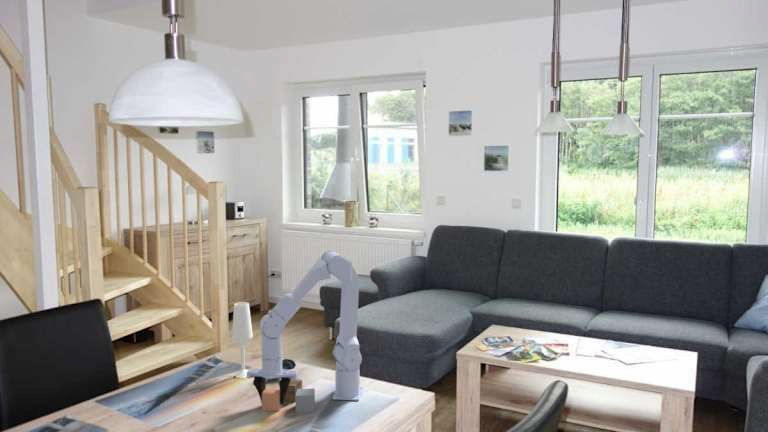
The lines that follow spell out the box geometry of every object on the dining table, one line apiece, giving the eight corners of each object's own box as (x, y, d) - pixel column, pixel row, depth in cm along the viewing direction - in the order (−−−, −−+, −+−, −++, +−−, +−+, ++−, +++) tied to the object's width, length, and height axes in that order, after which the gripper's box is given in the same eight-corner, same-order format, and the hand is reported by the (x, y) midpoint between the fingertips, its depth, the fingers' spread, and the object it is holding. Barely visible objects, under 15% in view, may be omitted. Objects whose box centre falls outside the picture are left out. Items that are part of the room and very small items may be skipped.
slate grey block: (297, 405, 173) (297, 388, 172) (314, 405, 173) (314, 388, 172) (295, 412, 168) (295, 395, 167) (313, 412, 168) (313, 395, 167)
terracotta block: (267, 403, 174) (266, 386, 173) (283, 403, 173) (283, 387, 173) (262, 410, 169) (261, 393, 169) (279, 411, 169) (278, 394, 168)
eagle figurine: (278, 383, 186) (300, 370, 193) (267, 363, 188) (289, 351, 194) (268, 389, 192) (289, 376, 198) (258, 370, 193) (279, 358, 199)
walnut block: (287, 393, 181) (286, 378, 180) (302, 395, 180) (302, 379, 179) (279, 400, 176) (279, 384, 176) (295, 402, 175) (295, 386, 174)
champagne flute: (229, 374, 196) (227, 303, 194) (247, 369, 201) (245, 300, 198) (239, 380, 192) (237, 307, 189) (257, 375, 196) (256, 304, 194)
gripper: (242, 360, 166) (243, 407, 168) (293, 362, 165) (294, 409, 166) (250, 352, 173) (251, 396, 175) (299, 353, 172) (300, 399, 173)
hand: (273, 402), depth 171 cm, fingers closed on terracotta block, 5 cm apart
